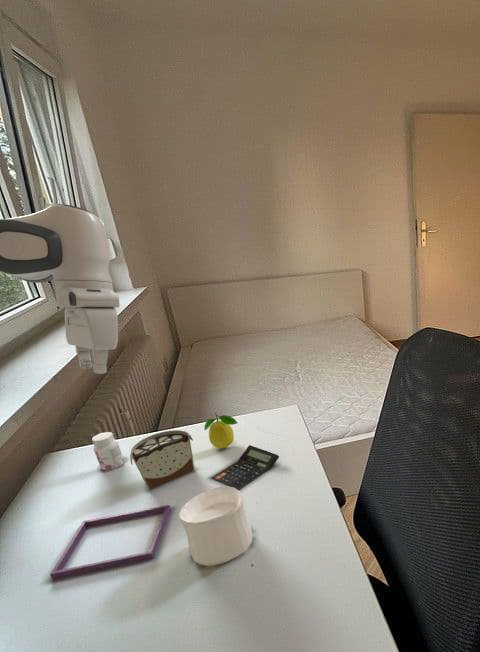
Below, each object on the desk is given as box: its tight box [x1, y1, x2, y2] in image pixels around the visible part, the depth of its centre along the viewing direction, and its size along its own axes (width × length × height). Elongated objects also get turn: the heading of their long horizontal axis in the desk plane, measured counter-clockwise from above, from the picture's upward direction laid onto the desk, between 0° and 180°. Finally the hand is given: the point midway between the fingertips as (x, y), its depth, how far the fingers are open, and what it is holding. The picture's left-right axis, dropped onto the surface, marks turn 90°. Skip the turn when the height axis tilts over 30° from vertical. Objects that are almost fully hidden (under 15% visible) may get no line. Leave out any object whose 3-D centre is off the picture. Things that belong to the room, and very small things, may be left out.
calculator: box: [210, 444, 280, 491], centre depth 98 cm, size 9×12×3 cm
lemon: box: [204, 412, 238, 449], centre depth 107 cm, size 7×6×10 cm
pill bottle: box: [91, 431, 126, 471], centre depth 102 cm, size 5×5×8 cm
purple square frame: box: [49, 504, 172, 581], centre depth 79 cm, size 15×13×2 cm
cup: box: [178, 486, 253, 567], centre depth 75 cm, size 10×10×10 cm
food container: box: [129, 429, 196, 491], centre depth 96 cm, size 12×6×10 cm, turn 135°
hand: (93, 370), depth 85 cm, fingers open, 8 cm apart
